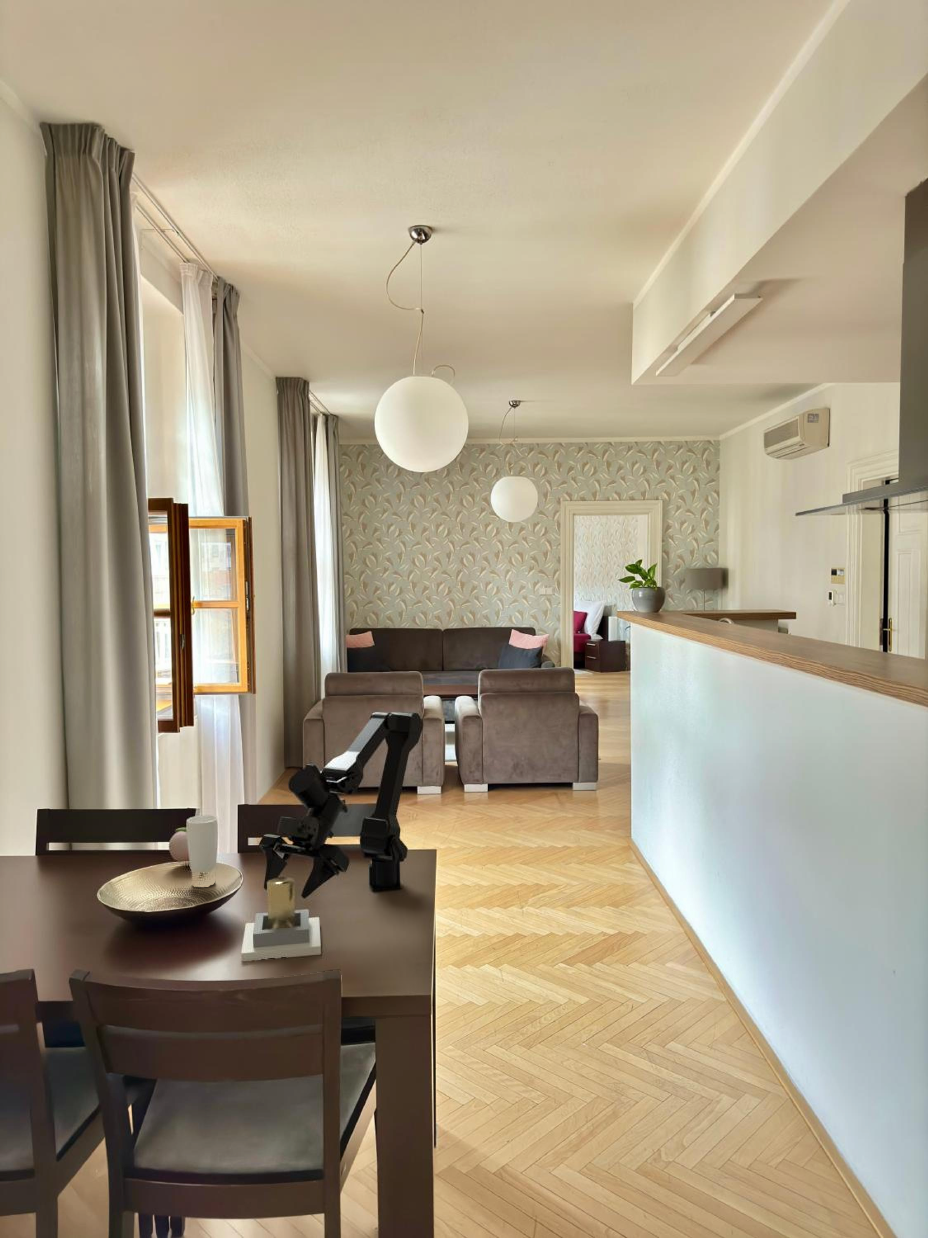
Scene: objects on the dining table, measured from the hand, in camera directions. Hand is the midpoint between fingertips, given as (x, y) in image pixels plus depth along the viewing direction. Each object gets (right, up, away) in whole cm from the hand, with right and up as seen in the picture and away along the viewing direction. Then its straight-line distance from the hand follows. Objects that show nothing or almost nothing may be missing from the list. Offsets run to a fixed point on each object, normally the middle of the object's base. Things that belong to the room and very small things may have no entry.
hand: (283, 893), depth 163 cm
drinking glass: (-25, -8, +32) cm, 41 cm away
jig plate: (0, -9, 0) cm, 9 cm away
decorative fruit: (-32, -8, +44) cm, 56 cm away
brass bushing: (0, -8, 0) cm, 8 cm away
